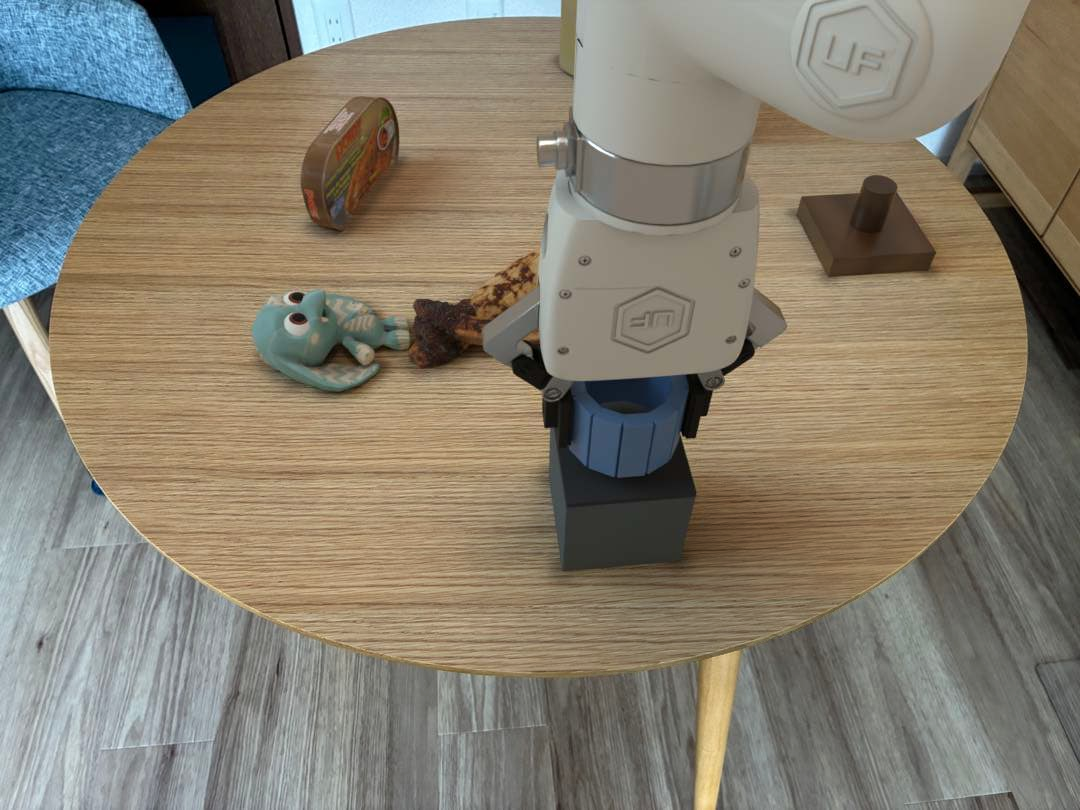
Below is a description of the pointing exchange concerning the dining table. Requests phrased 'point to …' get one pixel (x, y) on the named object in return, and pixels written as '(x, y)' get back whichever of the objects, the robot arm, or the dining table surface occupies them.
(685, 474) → the block
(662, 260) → the robot arm
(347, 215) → the tin
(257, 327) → the teal creature figurine
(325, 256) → the dining table surface
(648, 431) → the ring
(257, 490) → the dining table surface
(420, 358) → the bone fish hook
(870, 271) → the platform
